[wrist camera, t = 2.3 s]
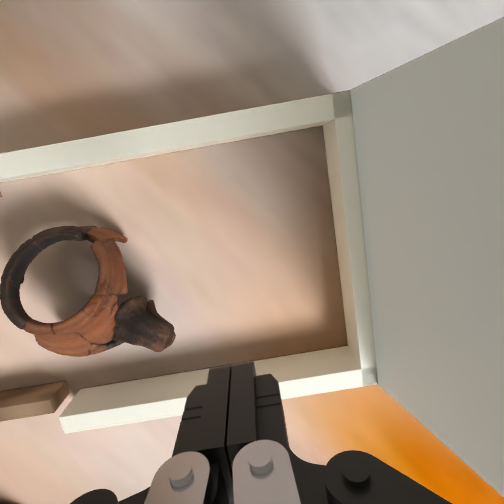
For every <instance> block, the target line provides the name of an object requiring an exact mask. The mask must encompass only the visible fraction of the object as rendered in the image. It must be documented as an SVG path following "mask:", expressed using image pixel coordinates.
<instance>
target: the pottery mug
mask: <svg viewBox="0 0 504 504" xmlns="http://www.w3.org/2000/svg"><path fill="white" fill-rule="evenodd" d="M63 240H78V241H82V240H88V241H90V242H92V244H91V249H92V251H93V252H94V254H95V256H96V258H97V261H98V264H99V277H98V282H97V286H96V290H95V294H94V295H93V296H92V298H91V299H90V301H89V302H88V303H87V304H86V305H85V306H84V307H83V308H82V309H81V310H80V311H79V312H78V313H76V314H75V315H73V316H72V317H70V318H68V319H66V320H64V321H61V322H57V323H42V322H39V321H37V320H33V319H32V318H31V317H29V316H28V315H27V313H26V312H25V310H24V309H23V307H22V304H21V301H20V295H19V293H20V292H19V290H20V284H21V283H23V281H24V274H25V272H26V270H27V267H28V266H29V264H30V263H31V262H32V260H33V259H34V258H35V257H36V256H37V254H38V253H40V252H41V251H42V250H43V249H45V248H47V247H48V246H50V245H52V244H54V243H56V242H59V241H63ZM127 240H128V239H127V238H126V237H125V236H123V235H121V234H119V233H117V232H115V231H112V230H109V229H105V228H98V227H96V226H83V227H75V226H62V227H55V228H50V229H47V230H44V231H42V232H40V233H38V234H36V235H35V236H33V238H32V239H29V240H27V241H26V242H25V243H23V244H22V245H21V246H20V247H19V248H18V250H17V251H16V252H15V253H14V254H13V255H12V256H11V258H10V259H9V261H8V263H7V264H6V267H5V269H4V271H3V274H2V277H1V284H0V299H1V305H2V309H3V310H4V313H5V314H6V315H7V317H8V318H9V319H10V321H11V322H12V323H13V324H14V325H16V326H17V327H18V328H20V329H24V330H25V331H26V332H29V333H31V334H34V335H35V337H36V341H37V342H38V344H39V345H40V346H42V347H43V348H45V349H47V350H49V351H52V352H54V353H57V354H61V355H68V356H77V357H80V356H89V355H91V354H96V353H99V352H102V351H106V350H108V349H111V348H113V347H116V346H118V345H120V344H122V343H124V342H126V343H129V344H132V345H139V346H143V347H146V348H149V349H152V350H154V351H155V352H161V351H163V350H164V349H166V348H167V347H169V346H171V344H172V343H173V341H174V339H175V336H176V335H175V332H174V327H173V325H172V324H170V323H169V322H168V321H166V320H165V319H164V318H162V317H161V316H160V315H159V314H158V313H157V311H156V308H155V304H154V301H153V300H146V299H143V298H142V297H135V298H131V299H128V300H126V301H125V302H123V303H122V304H121V306H120V307H118V304H117V296H119V295H123V294H127V291H128V288H127V278H126V269H125V266H124V263H123V259H122V255H121V252H120V250H119V248H118V246H117V245H116V243H115V241H119V242H122V243H126V242H127Z"/></svg>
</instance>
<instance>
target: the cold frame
mask: <svg viewBox="0 0 504 504" xmlns="http://www.w3.org/2000/svg"><path fill="white" fill-rule="evenodd" d="M322 125H323V132H324V141H325V149H326V158H327V167H328V176H329V184H330V193H331V202H332V210H333V219H334V228H335V237H336V245H337V254H338V263H339V271H340V280H341V289H342V297H343V306H344V315H345V324H346V332H347V341H348V346H344V347H338V348H331V349H325V350H319V351H313V352H307V353H300V354H294V355H288V356H282V357H276V358H270V359H263V360H257V361H254V365H255V370H256V375H257V376H258V375H264V374H272V376H273V377H274V378H275V379H276V380H277V381H278V383H279V389H280V394H281V399H287V398H293V397H299V396H306V395H312V394H318V393H325V392H331V391H337V390H344V389H350V388H356V387H362V386H369V385H375V384H378V385H379V386H380V387H381V388H382V389H383V390H384V391H385V392H387V393H388V394H389V395H390V396H391V397H392V398H393V399H394V400H395V401H397V402H398V403H399V404H400V405H401V406H402V407H403V408H404V409H406V410H407V411H408V412H409V413H410V414H411V415H412V416H413V417H414V418H416V419H417V420H418V421H419V422H420V423H421V424H422V425H423V426H424V427H426V428H427V429H428V430H429V431H430V432H431V433H432V434H433V435H434V436H436V437H437V438H438V439H439V440H440V441H441V442H442V443H443V444H444V445H446V446H447V447H448V448H449V449H450V450H451V451H452V452H453V453H454V454H456V455H457V456H458V457H459V458H460V459H461V460H462V461H463V462H465V463H466V464H467V465H468V466H469V467H470V468H471V469H472V470H473V471H475V472H476V473H477V474H478V475H479V476H480V477H481V478H482V479H483V480H485V481H486V482H487V483H488V484H489V485H490V486H491V487H492V488H493V489H495V490H496V491H497V492H498V493H499V494H500V495H501V496H502V497H503V498H504V17H502V18H500V19H498V20H496V21H494V22H492V23H490V24H488V25H486V26H484V27H481V28H479V29H477V30H475V31H473V32H471V33H469V34H467V35H465V36H463V37H460V38H458V39H456V40H454V41H452V42H450V43H448V44H446V45H444V46H442V47H439V48H437V49H435V50H433V51H431V52H429V53H427V54H425V55H423V56H420V57H418V58H416V59H414V60H412V61H410V62H408V63H406V64H404V65H402V66H399V67H397V68H395V69H393V70H391V71H389V72H387V73H385V74H383V75H381V76H378V77H376V78H374V79H372V80H370V81H368V82H366V83H364V84H362V85H359V86H357V87H355V88H353V89H351V90H348V91H343V92H337V93H332V94H326V95H321V96H315V97H310V98H304V99H299V100H293V101H288V102H282V103H277V104H271V105H266V106H260V107H255V108H249V109H244V110H238V111H232V112H227V113H221V114H216V115H210V116H205V117H199V118H194V119H188V120H183V121H177V122H172V123H166V124H161V125H155V126H150V127H144V128H139V129H133V130H128V131H122V132H117V133H111V134H106V135H100V136H95V137H89V138H84V139H78V140H73V141H67V142H62V143H56V144H51V145H45V146H39V147H34V148H28V149H23V150H17V151H12V152H6V153H1V154H0V182H8V181H15V180H21V179H26V178H32V177H37V176H43V175H49V174H54V173H60V172H65V171H71V170H76V169H82V168H88V167H93V166H99V165H104V164H110V163H116V162H121V161H127V160H132V159H138V158H144V157H149V156H155V155H160V154H166V153H171V152H177V151H183V150H188V149H194V148H199V147H205V146H211V145H216V144H222V143H227V142H233V141H238V140H244V139H250V138H255V137H261V136H266V135H272V134H278V133H283V132H289V131H294V130H300V129H305V128H311V127H317V126H322ZM209 369H210V368H208V369H202V370H195V371H189V372H183V373H177V374H171V375H165V376H158V377H152V378H146V379H140V380H134V381H127V382H121V383H115V384H109V385H103V386H97V387H90V388H84V389H80V390H79V391H78V393H77V394H76V395H75V397H74V398H73V399H72V401H71V402H70V403H69V405H68V406H67V407H66V409H65V410H64V411H63V413H62V414H61V415H60V417H59V420H60V422H61V425H62V428H63V431H64V433H65V434H66V433H72V432H79V431H85V430H91V429H98V428H104V427H110V426H116V425H123V424H129V423H135V422H142V421H148V420H154V419H161V418H167V417H173V416H180V415H183V411H184V407H185V403H186V399H187V397H188V395H189V394H190V393H191V391H192V390H193V389H194V388H195V386H198V385H204V384H207V379H208V373H209Z"/></svg>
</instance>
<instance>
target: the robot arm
mask: <svg viewBox="0 0 504 504" xmlns="http://www.w3.org/2000/svg"><path fill="white" fill-rule="evenodd" d="M70 504H452V503H450V502H448V501H447V500H445V499H443V498H442V497H440V496H438V495H437V494H435V493H433V492H432V491H430V490H429V489H427V488H425V487H424V486H422V485H420V484H419V483H417V482H415V481H414V480H412V479H410V478H409V477H407V476H406V475H404V474H402V473H401V472H399V471H397V470H396V469H394V468H392V467H391V466H389V465H387V464H386V463H384V462H383V461H381V460H379V459H378V458H376V457H374V456H372V455H371V454H368V453H365V452H362V451H354V450H352V451H344V452H341V453H339V454H337V455H335V456H334V457H332V458H331V459H330V460H329V462H328V463H327V465H326V466H325V465H318V464H312V463H308V462H306V461H303V460H302V459H300V458H298V457H297V456H296V455H295V454H294V453H293V452H292V451H291V449H290V447H289V442H288V436H287V429H286V423H285V417H284V411H283V406H282V400H281V394H280V389H279V383H278V381H277V380H276V379H275V378H274V377H273V376H272V374H264V375H258V376H257V375H256V370H255V365H254V361H249V362H243V363H237V364H232V365H225V366H219V367H213V368H210V369H209V373H208V379H207V384H204V385H198V386H195V388H194V389H193V390H192V391H191V393H190V394H189V395H188V397H187V399H186V403H185V407H184V411H183V415H182V421H181V423H180V427H179V431H178V435H177V439H176V443H175V447H174V451H173V455H172V457H171V458H170V459H168V460H167V461H166V462H165V463H164V464H163V465H162V466H161V467H160V468H159V469H158V471H157V472H156V474H155V476H154V478H153V481H152V484H151V486H150V487H149V488H147V489H145V490H143V491H141V492H139V493H137V494H135V495H133V496H130V497H128V498H126V499H124V500H122V501H119V502H118V500H117V497H116V495H115V494H114V493H113V492H112V491H110V490H107V489H97V490H93V491H90V492H88V493H85V494H83V495H82V496H80V497H78V498H77V499H75V500H74V501H73V502H72V503H70Z"/></svg>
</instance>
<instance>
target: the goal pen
mask: <svg viewBox="0 0 504 504" xmlns="http://www.w3.org/2000/svg"><path fill="white" fill-rule="evenodd" d="M0 197H2V195H1V193H0ZM68 394H69V390H68V387H67V384H66V381H63V382H56V383H50V384H44V385H38V386H32V387H26V388H20V389H13V390H7V391H1V392H0V421H6V420H12V419H19V418H25V417H31V416H37V415H44V414H50V413H54V412H55V411H56V410H57V408H58V407H59V406H60V405H61V403H62V402H63V401H64V399H65V398H66V397H67V396H68Z"/></svg>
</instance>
